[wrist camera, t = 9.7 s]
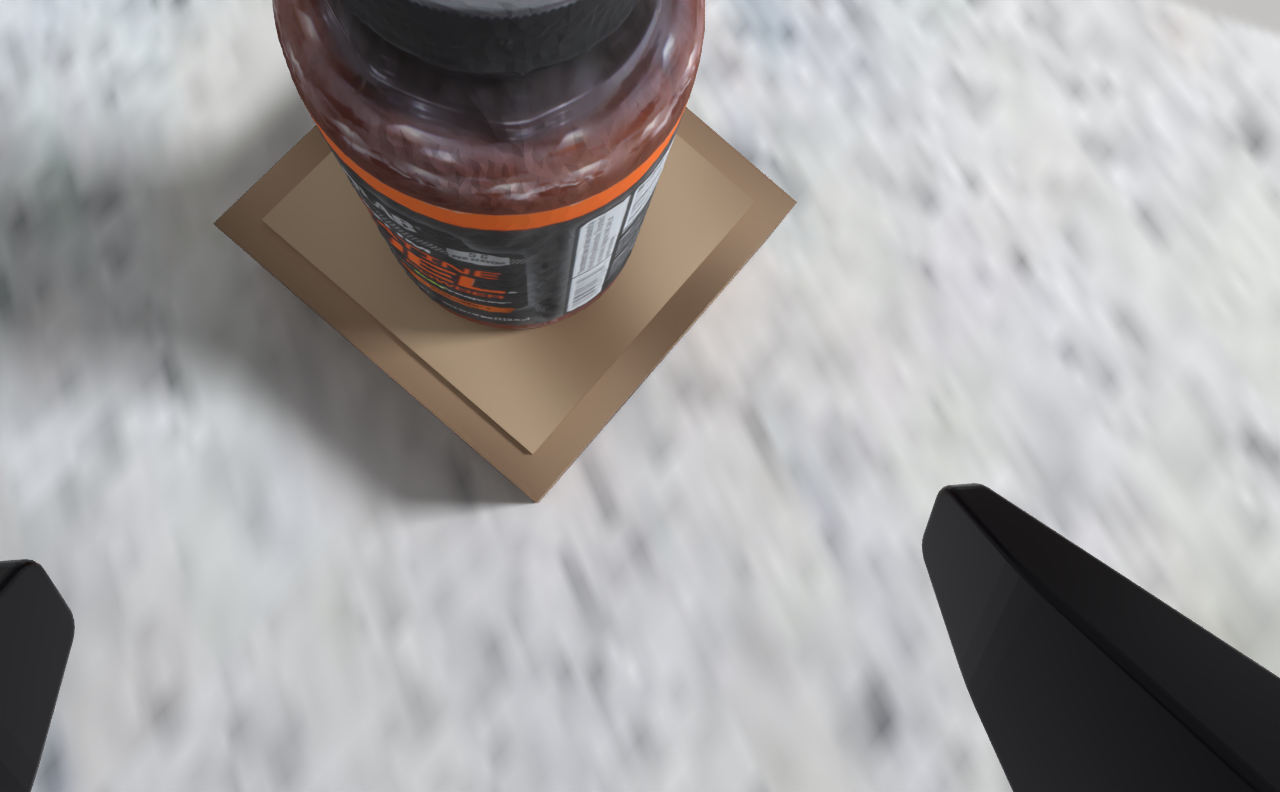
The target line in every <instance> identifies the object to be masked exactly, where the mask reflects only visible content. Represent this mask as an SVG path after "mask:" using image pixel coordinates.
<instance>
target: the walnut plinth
mask: <svg viewBox="0 0 1280 792" xmlns="http://www.w3.org/2000/svg"><path fill="white" fill-rule="evenodd" d="M796 203H797V202H796V201H795V200H794V199H792V198H791V197H790V196H789V195H788V194H787V193H785V192H784V191H783V190H782V189H781V188H780V187H778V186H777V185H776V184H775V183H774V182H773V181H772V180H770V179H769V178H768V177H767V176H766V175H765V174H763V173H762V172H761V171H760V170H759V169H758V168H756V167H755V166H754V165H753V164H752V163H751V162H749V161H748V160H747V159H746V158H745V157H744V156H742V155H741V154H740V153H739V152H738V151H737V150H735V149H734V148H733V147H732V146H731V145H730V144H728V143H727V142H726V141H725V140H724V139H723V138H722V137H720V136H719V135H718V134H717V133H716V132H715V131H713V130H712V129H711V128H710V127H709V126H708V125H706V124H705V123H704V122H703V121H702V120H701V119H699V118H698V117H697V116H696V115H695V114H694V113H692V112H691V111H690V110H689V109H688V108H687V107H685V109H684V113H683V116H682V119H681V121H680V124H679V127H678V130H677V132H676V135H675V138H674V140H673V143H672V145H671V148H670V150H669V153H668V156H667V158H666V161H665V163H664V167H663V170H662V172H661V174H660V177H659V180H658V183H657V185H656V188H655V191H654V193H653V196H652V199H651V201H650V204H649V208H648V209H647V212H646V215H645V218H644V220H643V223H642V226H641V228H640V231H639V234H638V236H637V239H636V242H635V244H634V246H633V249H632V252H631V255H630V256H629V258H628V260H627V262H626V264H625V266H624V267H623V269H622V270H621V272H620V274H619V276H618V277H617V279H616V280H615V281H614V283H613V284H612V285H611V286H610V287H609V289H608V290H607V291H606V292H605V293H604V294H603V295H602V296H601V297H600V298H599V299H597V300H596V301H595V302H593V303H592V304H591V305H589V306H588V307H587V308H585V309H584V310H582V311H580V312H578V313H576V314H575V315H573V316H571V317H569V318H567V319H564V320H562V321H560V322H558V323H555V324H551V325H547V326H543V327H539V328H534V329H529V328H528V329H504V328H496V327H490V326H485V325H481V324H478V323H475V322H472V321H469V320H467V319H464V318H462V317H459V316H457V315H455V314H453V313H450V312H449V311H447V310H446V309H444V308H442V307H441V306H440V305H438V304H437V303H436V302H435V301H433V300H432V299H431V298H430V297H428V296H427V295H426V294H425V293H424V292H423V291H422V290H420V288H419V287H418V286H417V285H416V284H415V282H414V281H413V280H412V279H411V278H410V277H409V276H408V275H407V273H406V272H405V270H404V269H403V268H402V266H401V265H400V264H399V263H398V261H397V259H396V257H395V256H394V254H393V253H392V251H391V249H390V247H389V246H388V244H387V242H386V241H385V239H384V238H383V236H382V235H381V234H380V232H379V230H378V227H377V225H376V224H375V222H374V221H373V219H372V217H371V215H370V213H369V211H368V209H367V208H366V206H365V204H364V203H363V202H362V200H361V199H360V197H359V195H358V194H357V192H356V190H355V189H354V187H353V186H352V185H351V183H350V181H349V180H348V177H347V175H346V173H345V172H344V170H343V169H342V167H341V165H340V164H339V162H338V160H337V159H336V157H335V156H334V154H333V152H332V151H331V149H330V147H329V146H328V144H327V142H326V141H325V139H324V138H323V137H322V135H321V133H320V131H319V129H318V126H317V125H316V126H315V127H314V128H313V129H312V130H311V131H310V132H309V133H308V134H307V135H306V136H304V137H303V138H302V139H301V140H300V141H299V142H298V143H297V144H296V145H295V146H294V147H293V148H292V149H291V150H290V151H289V152H288V153H287V154H286V155H285V156H284V157H283V158H281V159H280V160H279V161H278V162H277V163H276V164H275V165H274V166H273V167H272V168H271V169H270V170H269V171H268V172H267V173H266V174H265V175H264V176H263V177H262V178H261V179H260V180H259V181H257V182H256V183H255V184H254V185H253V186H252V187H251V188H250V189H249V190H248V191H247V192H246V193H245V194H244V195H243V196H242V197H241V198H240V199H239V200H238V201H237V202H236V203H234V204H233V205H232V206H231V207H230V208H229V209H228V210H227V211H226V212H225V213H224V214H223V215H222V216H221V217H220V218H219V219H218V220H217V221H216V222H215V223H214V225H215V226H217V227H218V228H219V229H220V230H221V231H222V232H224V233H225V234H226V235H227V236H228V237H229V238H230V239H232V240H233V241H234V242H235V243H236V244H237V245H239V246H240V247H241V248H242V249H243V250H244V251H245V252H247V253H248V254H249V255H250V256H251V257H252V258H254V259H255V260H256V261H257V262H258V263H259V264H260V265H262V266H263V267H264V268H265V269H266V270H267V271H269V272H270V273H271V274H272V275H273V276H274V277H276V278H277V279H278V280H279V281H280V282H281V283H282V284H284V285H285V286H286V287H287V288H288V289H289V290H291V291H292V292H293V293H294V294H295V295H296V296H297V297H299V298H300V299H301V300H302V301H303V302H304V303H306V304H307V305H308V306H309V307H310V308H311V309H312V310H314V311H315V312H316V313H317V314H318V315H319V316H321V317H322V318H323V319H324V320H325V321H326V322H328V323H329V324H330V325H331V326H332V327H333V328H334V329H336V330H337V331H338V332H339V333H340V334H341V335H343V336H344V337H345V338H346V339H347V340H348V341H349V342H351V343H352V344H353V345H354V346H355V347H356V348H358V349H359V350H360V351H361V352H362V353H363V354H364V355H366V356H367V357H368V358H369V359H370V360H371V361H373V362H374V363H375V364H376V365H377V366H378V367H379V368H381V369H382V370H383V371H384V372H385V373H386V374H388V375H389V376H390V377H391V378H392V379H393V380H395V381H396V382H397V383H398V384H399V385H400V386H401V387H403V388H404V389H405V390H406V391H407V392H408V393H410V394H411V395H412V396H413V397H414V398H415V399H416V400H418V401H419V402H420V403H421V404H422V405H423V406H425V407H426V408H427V409H428V410H429V411H430V412H431V413H433V414H434V415H435V416H436V417H437V418H438V419H440V420H441V421H442V422H443V423H444V424H445V425H447V426H448V427H449V428H450V429H451V430H452V431H453V432H455V433H456V434H457V435H458V436H459V437H460V438H462V439H463V440H464V441H465V442H466V443H467V444H468V445H470V446H471V447H472V448H473V449H474V450H475V451H477V452H478V453H479V454H480V455H481V456H482V457H483V458H485V459H486V460H487V461H488V462H489V463H490V464H492V465H493V466H494V467H495V468H496V469H497V470H498V471H500V472H501V473H502V474H503V475H504V476H505V477H507V478H508V479H509V480H510V481H511V482H512V483H514V484H515V485H516V486H517V487H518V488H519V489H520V490H522V491H523V492H524V493H525V494H526V495H527V496H529V497H530V498H531V499H532V500H533V501H534V502H535V503H539V502H540V500H541V499H542V498H543V497H544V496H545V495H546V493H547V492H548V491H549V490H550V489H551V488H552V487H553V485H554V484H555V483H556V482H557V481H558V480H559V478H560V477H561V476H562V475H563V474H564V473H565V472H566V470H567V469H568V468H569V467H570V466H571V465H572V464H573V462H574V461H575V460H576V459H577V458H578V457H579V455H580V454H581V453H582V452H583V451H584V450H585V449H586V447H587V446H588V445H589V444H590V443H591V442H592V440H593V439H594V438H595V437H596V436H597V435H598V434H599V432H600V431H601V430H602V429H603V428H604V427H605V425H606V424H607V423H608V422H609V421H610V420H611V419H612V417H613V416H614V415H615V414H616V413H617V412H618V411H619V409H620V408H621V407H622V406H623V405H624V404H625V402H626V401H627V400H628V399H629V398H630V397H631V396H632V394H633V393H634V392H635V391H636V390H637V389H638V387H639V386H640V385H641V384H642V383H643V382H644V381H645V379H646V378H647V377H648V376H649V375H650V374H651V372H652V371H653V370H654V369H655V368H656V367H657V366H658V364H659V363H660V362H661V361H662V360H663V359H664V358H665V356H666V355H667V354H668V353H669V352H670V351H671V349H672V348H673V347H674V346H675V345H676V344H677V343H678V341H679V340H680V339H681V338H682V337H683V336H684V334H685V333H686V332H687V331H688V330H689V329H690V328H691V326H692V325H693V324H694V323H695V322H696V321H697V319H698V318H699V317H700V316H701V315H702V314H703V313H704V311H705V310H706V309H707V308H708V307H709V306H710V305H711V303H712V302H713V301H714V300H715V299H716V298H717V296H718V295H719V294H720V293H721V292H722V291H723V290H724V288H725V287H726V286H727V285H728V284H729V283H730V281H731V280H732V279H733V278H734V277H735V276H736V275H737V273H738V272H739V271H740V270H741V269H742V268H743V266H744V265H745V264H746V263H747V262H748V261H749V260H750V258H751V257H752V256H753V255H754V254H755V253H756V252H757V250H758V249H759V248H760V247H761V246H762V245H763V243H764V242H765V241H766V240H767V239H768V237H769V236H770V235H771V234H772V232H773V231H774V230H775V229H776V228H777V226H778V225H779V224H780V223H781V221H782V220H783V219H784V218H785V216H786V215H787V214H788V213H789V211H790V210H791V209H792V208H793V206H794V205H795V204H796Z"/></svg>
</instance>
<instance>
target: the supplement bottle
mask: <svg viewBox="0 0 1280 792" xmlns="http://www.w3.org/2000/svg"><path fill="white" fill-rule="evenodd" d="M273 11H274V18H275V25H276V29H277V34H278V39H279V42H280V44H281V47H282V50H283V55H284V57H285V59H286V63H287V66H288V68H289V70H290V74H291V77H292V80H293V81H294V84H295V86H296V88H297V91H298V93H299V95H300V97H301V99H302V100H303V102H304V104H305V106H306V108H307V109H308V111H309V113H310V114H311V117H312V118H313V120H314V121H315V123H316V124H317V126H318V129H319V131H320V133H321V135H322V137H323V138H324V139H325V141H326V142H327V144H328V146H329V147H330V149H331V151H332V152H333V154H334V156H335V157H336V159H337V160H338V162H339V164H340V165H341V167H342V169H343V170H344V172H345V173H346V175H347V177H348V180H349V181H350V183H351V185H352V186H353V187H354V189H355V190H356V192H357V194H358V195H359V197H360V199H361V200H362V202H363V203H364V204H365V206H366V208H367V209H368V211H369V213H370V215H371V217H372V219H373V221H374V222H375V224H376V225H377V227H378V230H379V232H380V234H381V235H382V236H383V238H384V239H385V241H386V242H387V244H388V246H389V247H390V249H391V251H392V253H393V254H394V256H395V257H396V259H397V261H398V263H399V264H400V265H401V266H402V268H403V269H404V270H405V272H406V273H407V275H408V276H409V277H410V278H411V279H412V280H413V281H414V282H415V284H416V285H417V286H418V287H419V288H420V290H422V291H423V292H424V293H425V294H426V295H427V296H428V297H430V298H431V299H432V300H433V301H435V302H436V303H437V304H438V305H440V306H441V307H442V308H444V309H446V310H447V311H449V312H450V313H453V314H455V315H457V316H459V317H462V318H464V319H467V320H469V321H472V322H475V323H478V324H481V325H485V326H490V327H496V328H504V329H528V328H529V329H534V328H539V327H543V326H547V325H551V324H555V323H558V322H560V321H562V320H564V319H567V318H569V317H571V316H573V315H575V314H576V313H578V312H580V311H582V310H584V309H585V308H587V307H588V306H589V305H591V304H592V303H593V302H595V301H596V300H597V299H599V298H600V297H601V296H602V295H603V294H604V293H605V292H606V291H607V290H608V289H609V287H610V286H611V285H612V284H613V283H614V281H615V280H616V279H617V277H618V276H619V274H620V272H621V270H622V269H623V267H624V266H625V264H626V262H627V260H628V258H629V256H630V255H631V252H632V249H633V246H634V244H635V242H636V239H637V236H638V234H639V231H640V228H641V226H642V223H643V220H644V218H645V215H646V212H647V209H648V208H649V204H650V201H651V199H652V196H653V193H654V191H655V188H656V185H657V183H658V180H659V177H660V174H661V172H662V170H663V167H664V163H665V161H666V158H667V156H668V153H669V150H670V148H671V145H672V143H673V140H674V138H675V135H676V132H677V130H678V127H679V124H680V121H681V119H682V116H683V113H684V109H685V106H686V104H687V102H688V99H689V97H690V94H691V90H692V87H693V84H694V81H695V77H696V73H697V70H698V66H699V62H700V56H701V52H702V45H703V38H704V31H705V0H273Z"/></svg>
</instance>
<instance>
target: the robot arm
mask: <svg viewBox="0 0 1280 792" xmlns="http://www.w3.org/2000/svg"><path fill="white" fill-rule="evenodd" d="M922 552H923V558H924V561H925V564H926V567H927V571H928V574H929V577H930V580H931V583H932V586H933V589H934V592H935V595H936V598H937V601H938V604H939V607H940V610H941V613H942V616H943V619H944V622H945V625H946V628H947V631H948V634H949V637H950V640H951V643H952V646H953V649H954V653H955V656H956V659H957V662H958V665H959V668H960V670H961V673H962V676H963V679H964V681H965V684H966V687H967V689H968V692H969V694H970V696H971V699H972V701H973V704H974V706H975V708H976V711H977V713H978V715H979V717H980V719H981V722H982V724H983V726H984V728H985V730H986V733H987V735H988V737H989V739H990V741H991V744H992V746H993V748H994V750H995V753H996V755H997V757H998V759H999V761H1000V764H1001V766H1002V768H1003V770H1004V772H1005V775H1006V777H1007V779H1008V781H1009V783H1010V786H1011V788H1012V790H1013V792H1280V678H1279V677H1278V676H1276V675H1275V674H1273V673H1272V672H1270V671H1268V670H1267V669H1265V668H1264V667H1262V666H1261V665H1259V664H1258V663H1256V662H1255V661H1253V660H1252V659H1250V658H1249V657H1247V656H1246V655H1244V654H1242V653H1241V652H1239V651H1238V650H1236V649H1235V648H1233V647H1232V646H1230V645H1229V644H1227V643H1226V642H1224V641H1223V640H1221V639H1219V638H1218V637H1216V636H1215V635H1213V634H1212V633H1210V632H1209V631H1207V630H1206V629H1204V628H1203V627H1201V626H1200V625H1198V624H1196V623H1195V622H1193V621H1192V620H1190V619H1189V618H1187V617H1186V616H1184V615H1183V614H1181V613H1180V612H1178V611H1177V610H1175V609H1173V608H1172V607H1170V606H1169V605H1167V604H1166V603H1164V602H1163V601H1161V600H1160V599H1158V598H1157V597H1155V596H1154V595H1152V594H1151V593H1149V592H1147V591H1146V590H1144V589H1143V588H1141V587H1140V586H1138V585H1137V584H1135V583H1134V582H1132V581H1131V580H1129V579H1128V578H1126V577H1124V576H1123V575H1121V574H1120V573H1118V572H1117V571H1115V570H1114V569H1112V568H1111V567H1109V566H1108V565H1106V564H1105V563H1103V562H1101V561H1100V560H1098V559H1097V558H1095V557H1094V556H1092V555H1091V554H1089V553H1088V552H1086V551H1085V550H1083V549H1082V548H1080V547H1078V546H1077V545H1075V544H1074V543H1072V542H1071V541H1069V540H1068V539H1066V538H1065V537H1063V536H1062V535H1060V534H1059V533H1057V532H1056V531H1054V530H1052V529H1051V528H1049V527H1048V526H1046V525H1045V524H1043V523H1042V522H1040V521H1039V520H1037V519H1036V518H1034V517H1033V516H1031V515H1029V514H1028V513H1026V512H1025V511H1023V510H1022V509H1020V508H1019V507H1017V506H1016V505H1014V504H1013V503H1011V502H1010V501H1008V500H1006V499H1005V498H1003V497H1002V496H1000V495H999V494H997V493H996V492H994V491H993V490H991V489H990V488H988V487H986V486H984V485H982V484H977V483H972V484H959V485H948V486H945V487H943V488H942V489H941V490H940V491H939V493H938V495H937V497H936V500H935V503H934V506H933V509H932V512H931V515H930V518H929V521H928V524H927V527H926V529H925V532H924V535H923V540H922ZM74 629H75V626H74V619H73V615H72V612H71V610H70V608H69V607H68V605H67V604H66V602H65V601H64V599H63V598H62V596H61V595H60V593H59V591H58V590H57V588H56V587H55V585H54V584H53V582H52V581H51V579H50V578H49V576H48V575H47V573H46V571H45V570H44V568H43V567H42V566H41V565H40V564H38V563H36V562H35V561H33V560H28V559H22V560H10V561H0V792H31V789H32V786H33V783H34V780H35V777H36V773H37V770H38V767H39V763H40V760H41V756H42V752H43V749H44V745H45V741H46V738H47V734H48V730H49V727H50V723H51V719H52V716H53V712H54V708H55V705H56V701H57V697H58V694H59V690H60V686H61V683H62V679H63V675H64V672H65V668H66V664H67V661H68V657H69V653H70V650H71V646H72V642H73V638H74Z"/></svg>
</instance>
